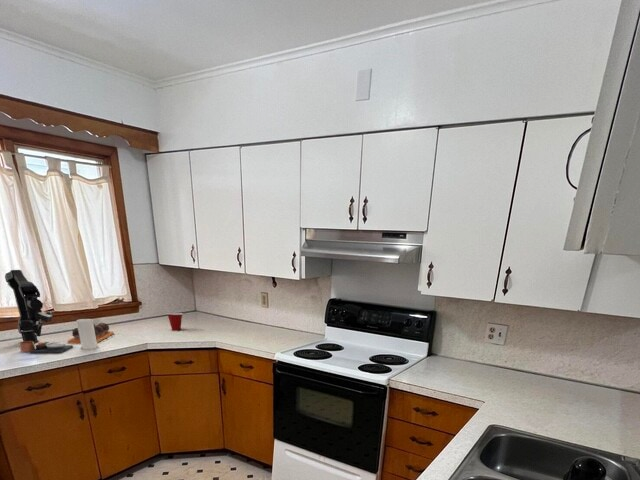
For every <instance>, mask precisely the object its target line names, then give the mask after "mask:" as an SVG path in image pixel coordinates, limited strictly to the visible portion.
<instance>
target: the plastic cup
mask: <svg viewBox="0 0 640 480" xmlns="http://www.w3.org/2000/svg"><path fill="white" fill-rule="evenodd" d="M183 314H184V313H182V312H174V311H173V312H167V313H166V315H167V317H168V319H169V325H170V328H171V331H174V332H175V331H181V330H182V319H183Z"/></svg>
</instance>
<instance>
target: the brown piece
mask: <svg viewBox="0 0 640 480" xmlns="http://www.w3.org/2000/svg"><path fill="white" fill-rule="evenodd" d="M93 325H94V330H95V336H96V341H97V344H98V343H100V342H102V341H103V340H105V339H106V338H107V339H108V338H109V337H110V336H113V335H114V334H115V333H114V331H111V330H110V326H109V325H108V324H107V323H106V322H99V323H98V324H95V323H93ZM71 334H72V335H71V336H72V338H69V339H68V340H67V343H68V344H81V341H80V336H79V331H78V327H75V328H74V329H73V330H72V332H71Z"/></svg>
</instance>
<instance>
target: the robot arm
mask: <svg viewBox="0 0 640 480" xmlns="http://www.w3.org/2000/svg"><path fill="white" fill-rule="evenodd" d="M4 279H5V282H6V283H7V286H8V287H10V288H11V290H12V291H13V292H12V293H13V296H14V298H15V302H16V306H17V310H18V314H19V317H18V319H17V322H18V323H17V331H18V334H20V335H21V338H22V342H23V341H33V342H34V344H36V343H39V340H38V337H41V335H42V327H43V326H44V325H45V324H46V323H49V322H52V319H53V318H54V316H53V312H51V311H47V312H43V311H42V309H43V306H44V304H43V302H42V301H41V300H40V299H38V298H41V292H40V290H39V288H38V287H37V286H36V285H35V284H34V283H33V282H31V281H28V279H27V278H26V277H25V275H24V273H23V271H22V270H21V269H11V270H9V272H6V273H5V274H4Z"/></svg>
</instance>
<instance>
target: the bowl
mask: <svg viewBox="0 0 640 480" xmlns="http://www.w3.org/2000/svg"><path fill="white" fill-rule="evenodd" d="M18 344H19V348H20V352H22V353H31V352H30V351H31V350H34V349H36V346H35V343H34V342H33V341H23V340H22V341H20V342H18Z"/></svg>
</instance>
